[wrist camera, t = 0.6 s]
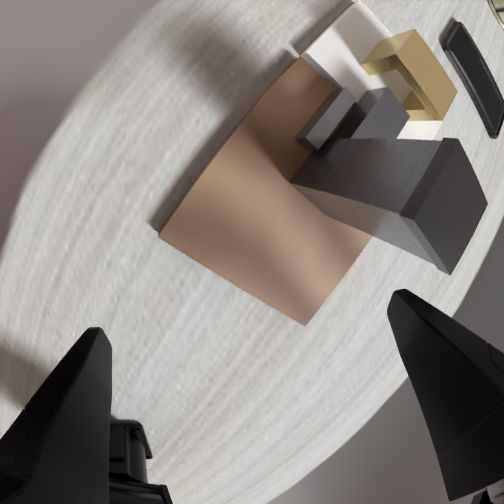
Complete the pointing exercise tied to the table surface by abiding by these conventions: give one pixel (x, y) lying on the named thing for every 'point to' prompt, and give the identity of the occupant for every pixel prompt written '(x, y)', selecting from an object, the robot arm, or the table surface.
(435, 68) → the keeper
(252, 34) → the table surface
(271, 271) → the door leaf
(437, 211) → the dark square pillar
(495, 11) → the coffee can
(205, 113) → the table surface
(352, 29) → the jamb plate
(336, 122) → the guide rails
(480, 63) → the phone
